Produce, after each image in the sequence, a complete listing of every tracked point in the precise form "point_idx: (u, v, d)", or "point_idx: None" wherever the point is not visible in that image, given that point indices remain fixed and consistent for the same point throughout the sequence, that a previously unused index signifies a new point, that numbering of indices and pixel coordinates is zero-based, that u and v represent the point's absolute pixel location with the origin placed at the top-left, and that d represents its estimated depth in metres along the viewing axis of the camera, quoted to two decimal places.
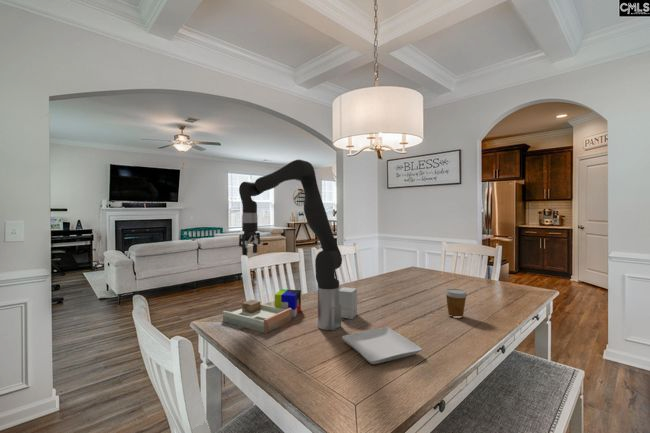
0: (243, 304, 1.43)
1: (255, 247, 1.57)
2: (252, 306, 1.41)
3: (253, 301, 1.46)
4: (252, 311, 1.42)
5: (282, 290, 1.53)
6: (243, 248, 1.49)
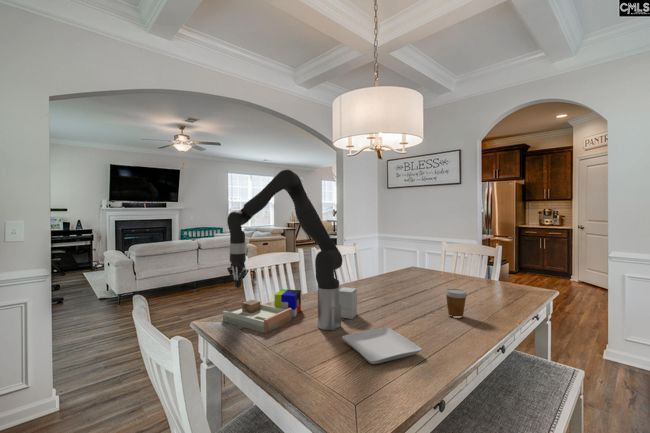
0: (243, 304, 1.43)
1: None
2: (252, 306, 1.41)
3: (253, 301, 1.46)
4: (252, 311, 1.42)
5: (282, 290, 1.53)
6: (240, 280, 1.49)
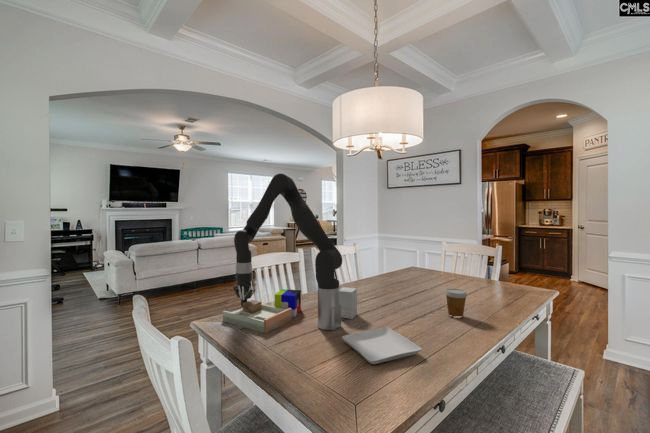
0: (244, 304, 1.43)
1: None
2: (253, 306, 1.41)
3: (253, 301, 1.46)
4: (253, 311, 1.41)
5: (282, 290, 1.53)
6: (246, 300, 1.47)
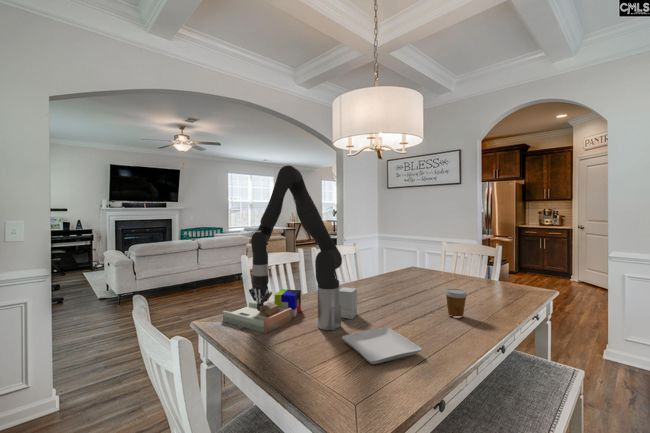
0: (261, 308, 1.38)
1: None
2: (270, 310, 1.36)
3: (270, 305, 1.40)
4: (270, 315, 1.36)
5: (282, 290, 1.53)
6: (262, 303, 1.41)
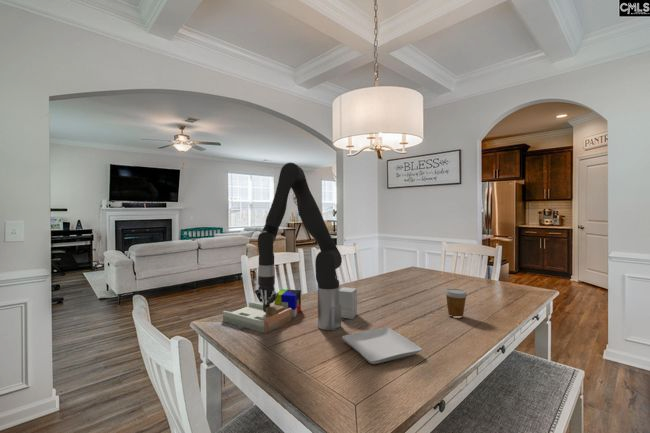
0: (267, 310, 1.36)
1: None
2: (277, 312, 1.34)
3: (276, 306, 1.38)
4: None
5: (282, 290, 1.53)
6: (268, 304, 1.39)
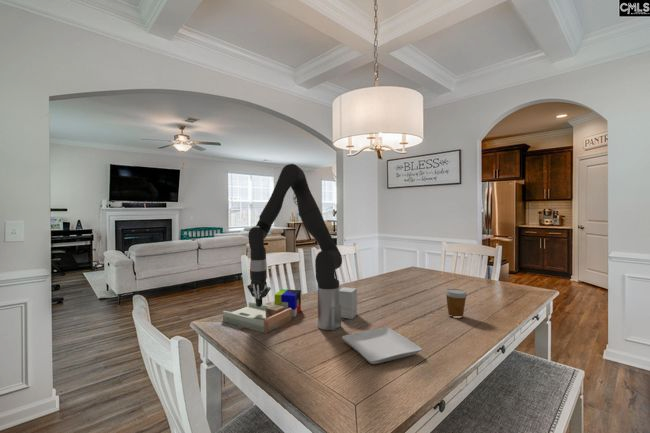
0: (267, 310, 1.36)
1: None
2: (277, 312, 1.34)
3: (276, 306, 1.38)
4: None
5: (282, 290, 1.53)
6: (261, 299, 1.41)
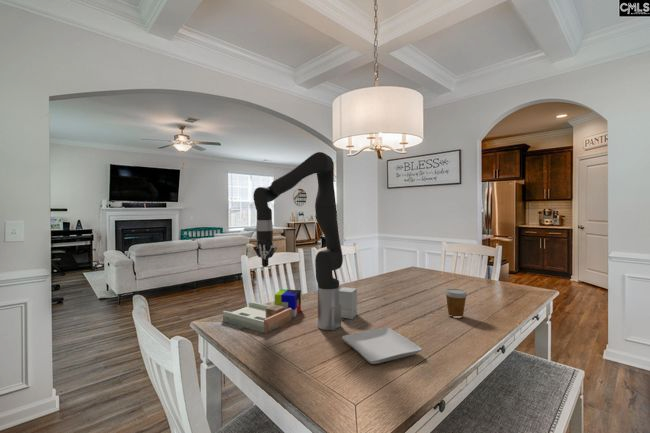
0: (267, 310, 1.36)
1: None
2: (277, 312, 1.34)
3: (276, 306, 1.38)
4: None
5: (282, 290, 1.53)
6: (267, 259, 1.43)
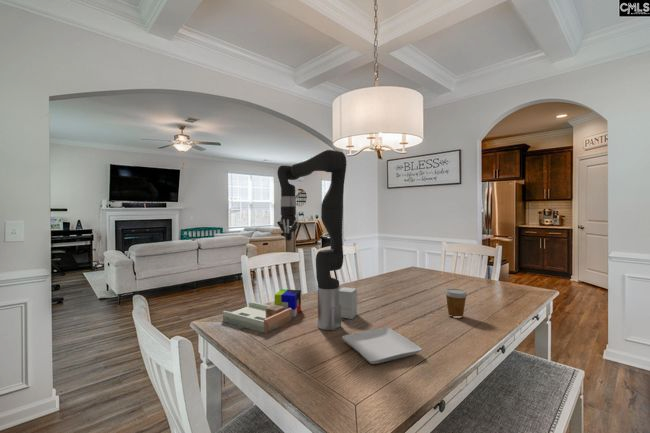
0: (267, 310, 1.36)
1: None
2: (277, 312, 1.34)
3: (276, 306, 1.38)
4: None
5: (282, 290, 1.53)
6: (290, 233, 1.52)
